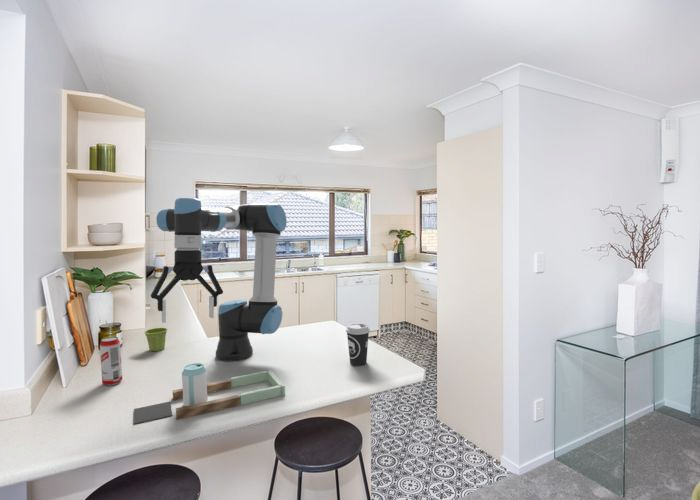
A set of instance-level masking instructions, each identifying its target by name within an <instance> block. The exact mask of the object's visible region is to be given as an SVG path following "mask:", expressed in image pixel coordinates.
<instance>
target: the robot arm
mask: <svg viewBox="0 0 700 500" xmlns="http://www.w3.org/2000/svg"><path fill="white" fill-rule="evenodd" d="M155 219H156V225H157V227H158V229H160V230H161V231H163V232H170V233H171V232H172V233H173V232H174V245H173V246H174V249H176V250H174V264H173V266H167V265H164V266H162V272H161V275H160V276H159V279H158V281H157V283H156V284H155V285H154V288H153V289H152V292H151V294H150V298H152V299H155V300H157V311H158V312H161V322H162V324H166V323H167V320H166V319H167V318H166V317H167V312H166V311H167V303H166V302H167V301H166V299H165V297H166V296H167V295H168V293H170V292H171V291H172V289H174V287H175V286H176V284H178V283H179V282H180V281H182V282H186V281H196V280H197V281H198V282H199V283H200V284H201V285H202V286H203V287H204V289H205V290H207V292H209V294H210V295H209V296H208V316H209V318H210V319H214V318H215V313H214V311H215V308H214V307H217V305H218V296H220V295H222V294H224V291H223V288H222V287H221V285H220V283H219V281H218V279H217V277H216V275H215V274H214V270H213V266H212V265H211V264H207V265H203V264H202V251H201V250H200V249H201V248H202V232H210V233H211V232H214V233H215V232H220V231H222V230H223V229H226V230H227V231H228V230H230V231H231V230H236V231H237V230H238V231H243V232H244V231H245V232H251V234H252V236H253V237H254V239H255V249H254V250H255V251H254V263H253V264H254V266H253V267H254V268H253V282H252V283H253V287H252V296H251V298H250V299H248V302H247V299H237V300H231V301H227V302H223V303H221V304H220V305H219V306H218V308H217V311H218V312H217V317H218V334H219V337H218V338H219V340H218V343H217V346H216V350H215V359H216V360H218V361H221V362H235V361H236V362H237V361H242V360H245V359H248V358H251V356H252V355H253V352H254V349H253V348H254V347H252V345H251V342H250V339H249V334H251V333H252V334H262V335H272V334H274V333H276V332H277V331H278V329H279V328H280V326H281V323H282V320H283V309H282V307H281V305H278V299H276V297H275V286H276V285H275V281H276V279H275V278H276V262H277V261H276V260H277V243H278V242H277V240H278V239H279V238H280V237H281V235H282V234H281V232H284V231H285V230H286V227H287V215H286V212H285V209H284V208H283V206H282V205H281V204H279V203H277V202H276V203H275V202H266V203H245V204H237V205H232V206H230V205H229V206H226V207H225V206H224V207H223V208H213V207H212V208H209V207H202V202H201V200H200V199H199V198H195V197H194V198H193V197H179V198H177V199H175V200H174V208H167V209H161V210H160V211H158V213H157V215H156V218H155ZM172 271H173V273H174V274H175V275H174V277H173V278H172V279H171V281H170V282H169V283H168V284H167V285H166V286H165V287H164V289H162V286H163V284H164V283H165V281H166V280H167V278H168V276H169V274H171V272H172ZM203 271H204V272H205V273H207V275H208V277H209V279H210V281H211V283H212V285H213V286H214V288H213V287H212V286H211V285H210V284H209V283H208V282H207V281H206V280H205V278H204V277H203V276H202V275H201V273H202V272H203ZM161 289H162V291H161V292H160V290H161ZM214 289H215V290H214ZM159 292H160V293H159Z"/></svg>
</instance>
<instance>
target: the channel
mask: <svg viewBox="0 0 700 500" xmlns="http://www.w3.org/2000/svg"><path fill="white" fill-rule="evenodd" d="M230 388H231V381H230V378H229V379H224V380H219V381H214V382H209V383H208V382H207V394H211V393H215V391H216V392H220V390H221V391H224V390H225V389H226V390H230ZM231 389H232V388H231ZM177 399H178V400H183V387H181V388H177V389H174V390H172V400H173V401H176V400H177ZM238 406H239V407H240V406H241V404H240V395H239V394H236V395H231V396H226V397H222V398H218V399H217V398H216V399H214V400H207V402H203V403H198V404H194V405H189V406H181V407H175V417H176V420H182V419H185V418H190V417H193V416H195V417H196V416H199V415H203V414H207V413H212V412H215V411H221V410H224V409H229V408H234V407H238Z"/></svg>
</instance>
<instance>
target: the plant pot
mask: <svg viewBox="0 0 700 500" xmlns="http://www.w3.org/2000/svg"><path fill="white" fill-rule="evenodd" d="M167 332H168V328H167V327H155V328H149V329H147V330H146V329H145V331H144V332H143V334H145V337H146V340H147V344H148V350H149V351H150V352H159V351H162V350H164V349H165V348H166V347H165V346H166V336H167Z"/></svg>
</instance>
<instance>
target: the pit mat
mask: <svg viewBox="0 0 700 500" xmlns="http://www.w3.org/2000/svg"><path fill="white" fill-rule="evenodd" d="M172 416H173V410H172V404H171V401H167V402H162V403H155V404H150V405H145V406H142V407H137V408H133V425H137V424H138V425H139V424H143V423H146V422H153V421H156V420H160V419H165V418H170V417H172Z"/></svg>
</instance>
